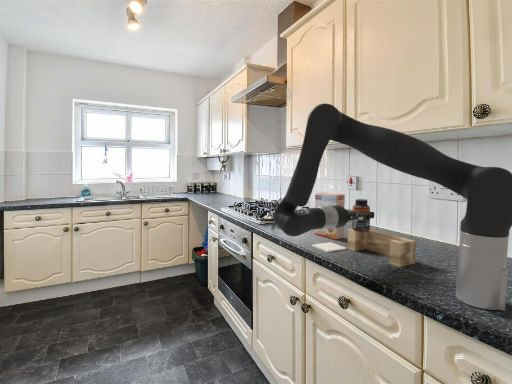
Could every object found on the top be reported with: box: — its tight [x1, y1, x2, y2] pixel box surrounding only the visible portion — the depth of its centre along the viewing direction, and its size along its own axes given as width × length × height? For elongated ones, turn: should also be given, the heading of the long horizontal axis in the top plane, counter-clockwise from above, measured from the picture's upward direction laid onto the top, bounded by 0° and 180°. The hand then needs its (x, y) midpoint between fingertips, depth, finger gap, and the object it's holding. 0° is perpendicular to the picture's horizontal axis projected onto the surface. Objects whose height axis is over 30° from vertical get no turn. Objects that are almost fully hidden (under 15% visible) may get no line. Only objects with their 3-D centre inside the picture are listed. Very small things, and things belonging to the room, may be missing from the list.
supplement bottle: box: [351, 198, 371, 232], centre depth 101 cm, size 6×6×11 cm
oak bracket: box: [346, 228, 417, 268], centre depth 106 cm, size 8×24×8 cm, turn 26°
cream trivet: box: [311, 241, 347, 253], centre depth 117 cm, size 10×10×1 cm
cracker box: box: [314, 192, 346, 241], centre depth 135 cm, size 14×6×21 cm, turn 32°
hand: (366, 213), depth 102 cm, fingers closed on supplement bottle, 6 cm apart
